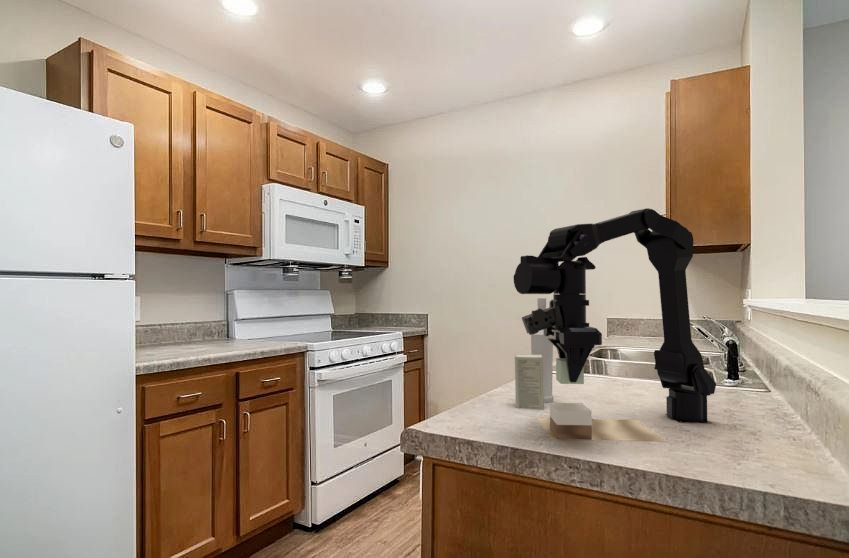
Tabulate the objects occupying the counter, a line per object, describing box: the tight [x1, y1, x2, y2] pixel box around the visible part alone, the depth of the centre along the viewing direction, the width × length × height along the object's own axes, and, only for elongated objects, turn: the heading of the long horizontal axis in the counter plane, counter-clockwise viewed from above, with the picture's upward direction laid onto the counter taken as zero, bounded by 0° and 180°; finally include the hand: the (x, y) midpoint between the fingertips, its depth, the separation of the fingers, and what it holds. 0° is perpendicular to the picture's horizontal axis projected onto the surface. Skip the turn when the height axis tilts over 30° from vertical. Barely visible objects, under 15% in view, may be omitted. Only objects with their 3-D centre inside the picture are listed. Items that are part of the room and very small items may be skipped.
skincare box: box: [514, 353, 545, 410], centre depth 108 cm, size 6×4×12 cm
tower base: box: [549, 416, 593, 441], centre depth 87 cm, size 6×6×2 cm
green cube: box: [555, 357, 585, 385], centre depth 87 cm, size 4×4×4 cm
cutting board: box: [536, 417, 669, 443], centre depth 90 cm, size 20×14×1 cm
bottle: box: [530, 297, 554, 404], centre depth 114 cm, size 5×5×25 cm
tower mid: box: [549, 402, 593, 425], centre depth 87 cm, size 6×6×2 cm
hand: (570, 379), depth 87 cm, fingers closed on green cube, 4 cm apart
